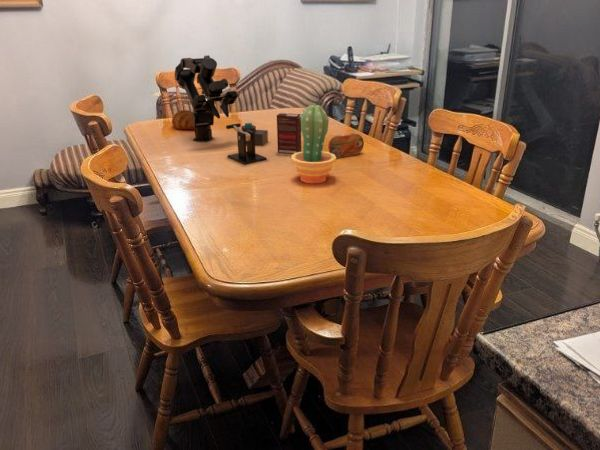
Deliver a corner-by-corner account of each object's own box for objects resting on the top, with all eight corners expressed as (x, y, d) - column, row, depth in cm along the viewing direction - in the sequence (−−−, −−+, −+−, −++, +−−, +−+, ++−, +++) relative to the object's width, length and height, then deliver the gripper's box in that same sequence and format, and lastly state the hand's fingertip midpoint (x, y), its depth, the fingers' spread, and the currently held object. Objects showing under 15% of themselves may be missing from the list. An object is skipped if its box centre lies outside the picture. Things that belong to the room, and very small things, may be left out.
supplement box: (301, 153, 209) (301, 113, 203) (297, 157, 205) (297, 116, 199) (281, 151, 212) (280, 112, 206) (277, 155, 208) (276, 114, 201)
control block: (239, 144, 221) (238, 128, 219) (245, 140, 228) (244, 124, 225) (262, 146, 219) (261, 130, 216) (268, 142, 225) (267, 126, 222)
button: (243, 128, 221) (243, 123, 220) (246, 126, 224) (246, 122, 223) (250, 128, 220) (250, 124, 219) (253, 126, 223) (253, 122, 222)
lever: (225, 129, 203) (226, 123, 202) (239, 127, 207) (239, 121, 205) (240, 142, 197) (241, 136, 196) (254, 139, 200) (255, 134, 199)
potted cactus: (337, 173, 187) (339, 102, 177) (333, 187, 173) (335, 111, 163) (295, 170, 189) (294, 100, 179) (287, 185, 175) (286, 110, 165)
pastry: (206, 129, 246) (205, 112, 243) (180, 132, 240) (178, 115, 236) (190, 120, 262) (188, 104, 259) (164, 124, 256) (163, 107, 252)
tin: (331, 159, 202) (331, 137, 199) (326, 157, 205) (327, 135, 201) (363, 154, 209) (364, 133, 205) (359, 152, 211) (360, 131, 208)
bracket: (227, 158, 204) (226, 130, 199) (249, 153, 210) (248, 126, 205) (244, 165, 195) (243, 137, 191) (266, 160, 201) (265, 132, 197)
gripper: (192, 74, 200) (209, 108, 196) (234, 70, 210) (251, 102, 207) (184, 92, 209) (200, 125, 205) (225, 87, 219) (241, 118, 216)
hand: (223, 117), depth 208 cm, fingers open, 4 cm apart
